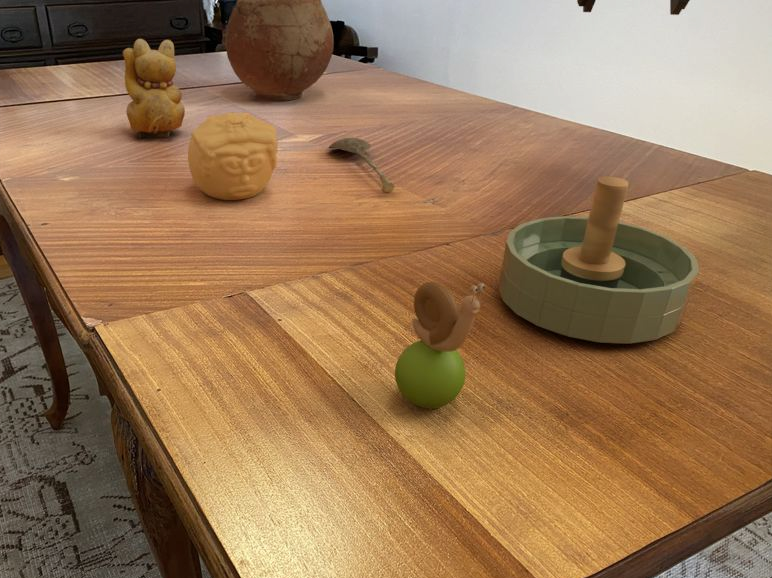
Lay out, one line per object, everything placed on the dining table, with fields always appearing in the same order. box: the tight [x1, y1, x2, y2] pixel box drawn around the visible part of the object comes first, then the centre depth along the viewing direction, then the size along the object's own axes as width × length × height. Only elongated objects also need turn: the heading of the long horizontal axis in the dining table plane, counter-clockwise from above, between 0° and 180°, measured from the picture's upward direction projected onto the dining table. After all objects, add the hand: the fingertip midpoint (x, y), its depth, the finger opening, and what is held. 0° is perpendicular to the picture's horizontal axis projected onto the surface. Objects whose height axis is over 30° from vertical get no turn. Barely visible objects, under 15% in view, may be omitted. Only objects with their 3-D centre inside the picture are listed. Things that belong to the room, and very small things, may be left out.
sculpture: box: [187, 111, 278, 201], centre depth 94 cm, size 12×12×11 cm
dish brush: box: [560, 176, 630, 288], centre depth 70 cm, size 6×6×11 cm
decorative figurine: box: [122, 38, 186, 139], centre depth 117 cm, size 10×8×15 cm
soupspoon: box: [328, 137, 396, 194], centre depth 106 cm, size 22×3×7 cm
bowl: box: [497, 215, 700, 345], centre depth 69 cm, size 17×17×6 cm
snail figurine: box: [394, 281, 486, 409], centre depth 53 cm, size 5×6×12 cm
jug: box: [224, 0, 335, 102], centre depth 138 cm, size 22×22×30 cm
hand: (633, 8), depth 71 cm, fingers open, 8 cm apart
